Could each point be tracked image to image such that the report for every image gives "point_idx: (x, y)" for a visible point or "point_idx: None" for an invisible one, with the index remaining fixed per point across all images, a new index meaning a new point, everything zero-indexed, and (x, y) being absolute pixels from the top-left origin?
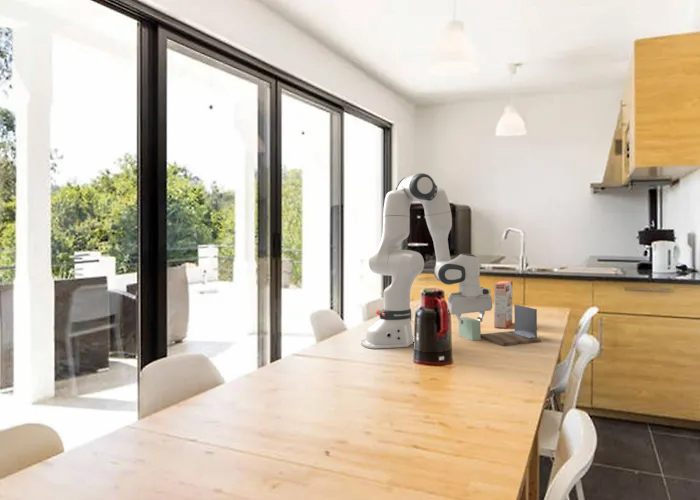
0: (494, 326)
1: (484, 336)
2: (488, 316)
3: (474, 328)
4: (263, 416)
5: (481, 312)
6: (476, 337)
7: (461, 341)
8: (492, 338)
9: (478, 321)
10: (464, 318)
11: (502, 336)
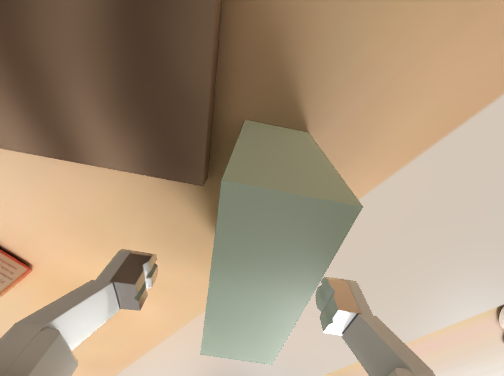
0: (29, 272)
1: (208, 120)
2: None
3: (304, 160)
4: None
5: (50, 358)
6: (278, 130)
7: (379, 154)
8: (198, 3)
9: (254, 185)
10: (260, 338)
11: (71, 17)
